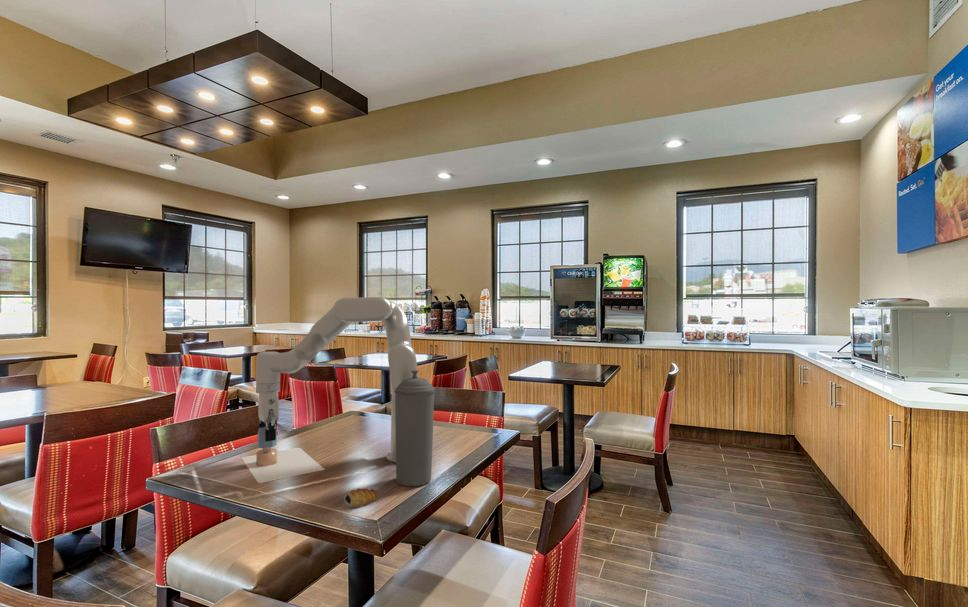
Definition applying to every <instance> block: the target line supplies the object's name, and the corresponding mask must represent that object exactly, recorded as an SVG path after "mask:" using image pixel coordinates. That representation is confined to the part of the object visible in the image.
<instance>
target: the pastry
mask: <svg viewBox="0 0 968 607" xmlns="http://www.w3.org/2000/svg"><path fill="white" fill-rule="evenodd" d="M379 498H380V493H379V492H378V491H377V489H374V488H370V489H369V488H360V487H359V488H356V489H351V490H350V491H346V492H345V494H344V497H343V502H344V504H345V505H346V506H348V507H349V508H352V509H357V508H360V507H366V506H367V505H370V504H373V503H375V502H377V501H378V500H379Z"/></svg>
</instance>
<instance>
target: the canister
mask: <svg viewBox="0 0 968 607" xmlns="http://www.w3.org/2000/svg"><path fill="white" fill-rule="evenodd" d="M411 372H412V373H413V376H412V378H406V379H404V380H403V381H402V382H401V383H400V384H399V385H398V387H397V388H396V389H395V426H396V463H395V468H396V469H395V470H396V472H395V473H396V474H395V475H396V476H395V478H396V483H397V484H399V485H401V486H403V487H420V485H421V486H423V485H427V484H429V483H430V481H431V480H432V468H433V466H432V465H433V444H434V443H433V442H434V441H433V439H434V412H435V408H434V405H435V393H436V390H435V388H434V386H433V385H432V384H431V383H430V382H429V380H428V379H426V378H424V377H420V376H418V377H417V372H418V373H419V372H420V370H411Z"/></svg>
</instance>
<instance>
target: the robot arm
mask: <svg viewBox="0 0 968 607" xmlns="http://www.w3.org/2000/svg"><path fill="white" fill-rule="evenodd" d="M366 322H369V323H370V322H381V323H383V325H384V327H385V333H386V339H387V340H386V341H387V349H388V352H387V360H388V367H389V368H388V369H389V375H390V377H389V378H390V383H391V385H390V391H391V395H390V396H391V403H390V404H391V410H390V411H391V412H390V414H391V415H390V417H391V419H390V451H389V452H388V453H387V454H386V455H385V456H386V458H385V459H386V460H388V461H389V462H391V463H395V464H396V426H395V389H396V388H397V387H398V385H399V384H400V383H401V382H402V381H403V380H404V379H406V378H412V376H413V373H412V372H411V370H418V363H417V357H416V352H415V349H414V348H413V345H412V344H413V343H412V337H411V332H410V325H409V321H408V317H407V315H406V313H405V311H404V310H403V309H402V308H401V307H400V306H399V305H398V304H397V303H396V302H394V301H391V300H389V299H387V298H386V297H384V296H383V297H382V296H372V297H371V296H370V297H369V296H368V297H367V296H365V297H347V296H346V297H341V298H339V299H338V300H336V302H335V303H334V304H333V306H332V307H331V308H330V310H328V311H327V312H326V313H325V314H324V315H323V316H322V317H321V318H320V319H318V321H316V322H315V323H314V324H313V326H311V328H310V330H309V332H308V333H307V334H306V336H305V337H303V339H302V340H301V341H300V342H299V343H298V344H296V345H295V346H294V347H293V348H292V349H291V350H289V351H285V352H278V351H261V352H259V353H257V355H256V363H255V364H256V367H255V368H256V370H255V371H256V373H255V375H256V376H255V378H256V379H255V381H256V382H255V393H256V394H258V407H257V408H258V409H257V414H258V415H257V416H258V418H259V420H258V422H259V424H258V429H259V428H261V427H266V429H265V441H266V442H267V441H274V440H276V430H277V423H276V422H279V420H280V402H279V393H280V392H281V374H294V373H297V372H299V371H300V370H301V369H303V368H304V367H305V366H306V365H308V363H310V361H312V360H313V359H314V357H316V356H317V355H318V354H319V353H320V352H321V351H322V350H324V348H326V347H328V346H329V345H330V344H331V342H333V341H334V340H335V339H337V337H338V336H339V335H340V334H341V333H343V331H344V330H346V328H349V326H350V325H351V324H352V323H366ZM417 377H419V372H417Z"/></svg>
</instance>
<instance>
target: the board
mask: <svg viewBox="0 0 968 607" xmlns="http://www.w3.org/2000/svg"><path fill="white" fill-rule="evenodd" d="M240 458H241V460H242V462H243V463H244V464H245V467H246V468H247V469H248V470H249V472H250V474H251V475H252V476H253V478H254V480H256V482H257V483H258V484H262V483H266V482H272V481H276V480H281V479H286V478H292V477H295V476H301V475H305V474H311V473H315V472H316V473H317V472H320V471H325V470H326V468H324V467H323V466H322V465H321V464H319V462H318V461H315V460H314V459H313V458H312V457H311V456H310V455H309V454H308V453H306V451H304V450H303V449H302V448H300V447H294V448H288V449H287V448H286V449H282V450H277V463H276V464H274V465H270V466H257V465H256V454H254V455H253V454H252V455H248V456H247V455H246V456H242V457H240Z"/></svg>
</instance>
